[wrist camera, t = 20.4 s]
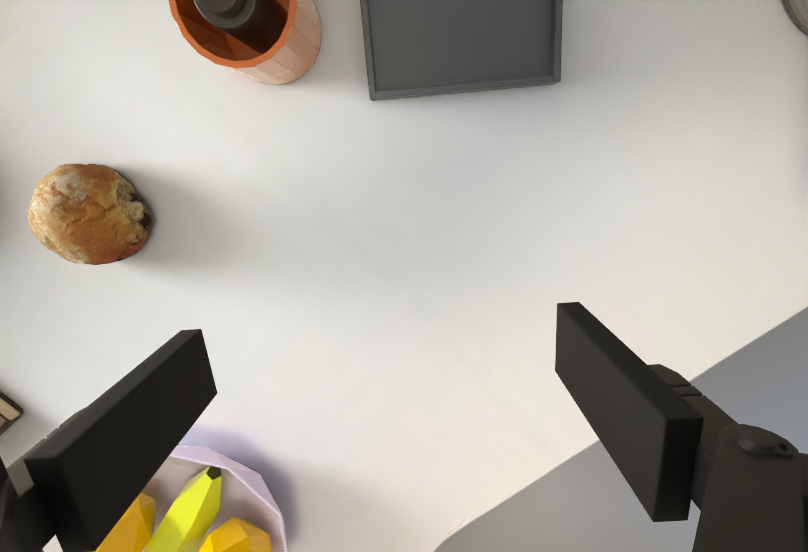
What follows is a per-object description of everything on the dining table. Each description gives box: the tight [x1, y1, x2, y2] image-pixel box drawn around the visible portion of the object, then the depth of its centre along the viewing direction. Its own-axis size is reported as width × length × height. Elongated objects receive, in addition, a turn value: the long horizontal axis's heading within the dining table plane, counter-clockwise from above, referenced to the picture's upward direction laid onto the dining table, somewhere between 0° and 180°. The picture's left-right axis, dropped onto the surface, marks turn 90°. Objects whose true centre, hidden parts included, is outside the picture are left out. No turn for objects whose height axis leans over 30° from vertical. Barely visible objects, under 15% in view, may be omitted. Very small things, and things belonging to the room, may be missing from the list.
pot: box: [169, 0, 321, 85], centre depth 33 cm, size 9×9×9 cm
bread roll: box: [28, 164, 152, 265], centre depth 41 cm, size 10×10×8 cm
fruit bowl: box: [95, 445, 288, 552], centre depth 49 cm, size 28×27×11 cm
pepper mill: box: [194, 0, 288, 54], centre depth 32 cm, size 4×4×11 cm
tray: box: [360, 0, 563, 101], centre depth 36 cm, size 17×13×2 cm
